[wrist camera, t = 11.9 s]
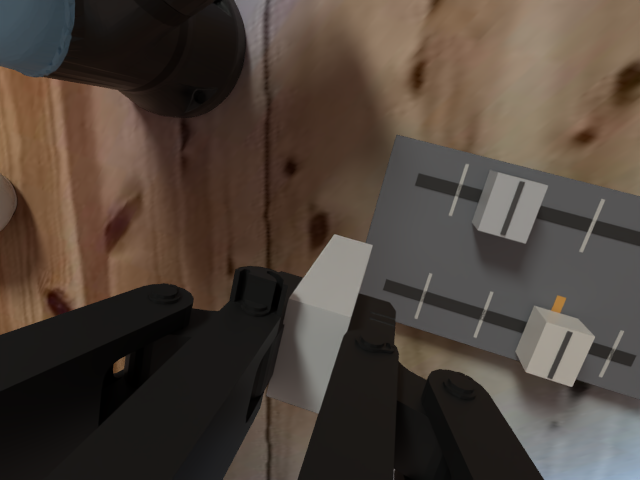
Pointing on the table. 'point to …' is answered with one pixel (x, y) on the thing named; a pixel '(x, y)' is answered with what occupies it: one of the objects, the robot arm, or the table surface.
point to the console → (507, 259)
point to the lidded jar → (6, 201)
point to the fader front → (508, 206)
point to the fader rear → (554, 346)
